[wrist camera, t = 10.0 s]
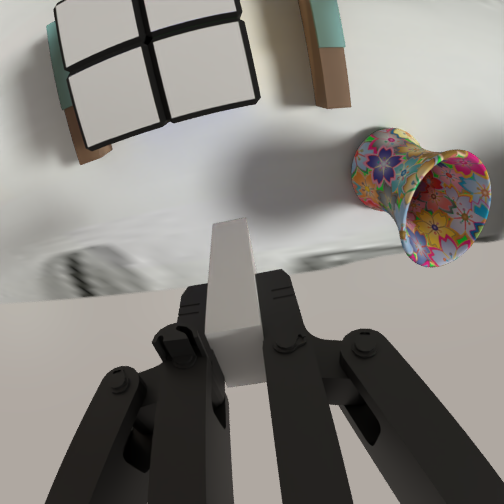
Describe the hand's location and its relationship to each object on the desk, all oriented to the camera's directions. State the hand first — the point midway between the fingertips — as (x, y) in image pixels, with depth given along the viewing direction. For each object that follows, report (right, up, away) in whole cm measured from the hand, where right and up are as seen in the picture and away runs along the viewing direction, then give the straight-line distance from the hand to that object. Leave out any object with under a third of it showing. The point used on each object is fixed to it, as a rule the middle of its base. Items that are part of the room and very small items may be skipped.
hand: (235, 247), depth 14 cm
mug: (+15, +8, +13) cm, 22 cm away
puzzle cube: (-6, +16, +6) cm, 18 cm away
